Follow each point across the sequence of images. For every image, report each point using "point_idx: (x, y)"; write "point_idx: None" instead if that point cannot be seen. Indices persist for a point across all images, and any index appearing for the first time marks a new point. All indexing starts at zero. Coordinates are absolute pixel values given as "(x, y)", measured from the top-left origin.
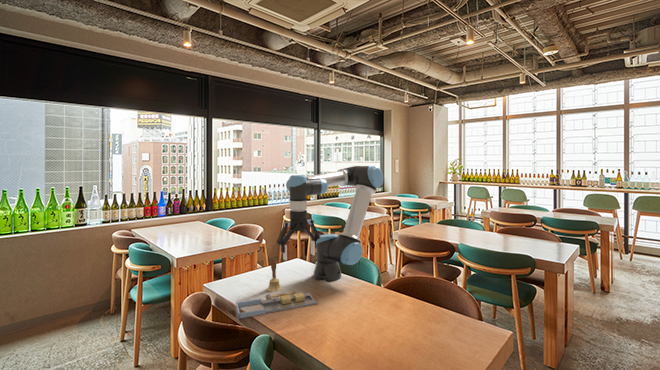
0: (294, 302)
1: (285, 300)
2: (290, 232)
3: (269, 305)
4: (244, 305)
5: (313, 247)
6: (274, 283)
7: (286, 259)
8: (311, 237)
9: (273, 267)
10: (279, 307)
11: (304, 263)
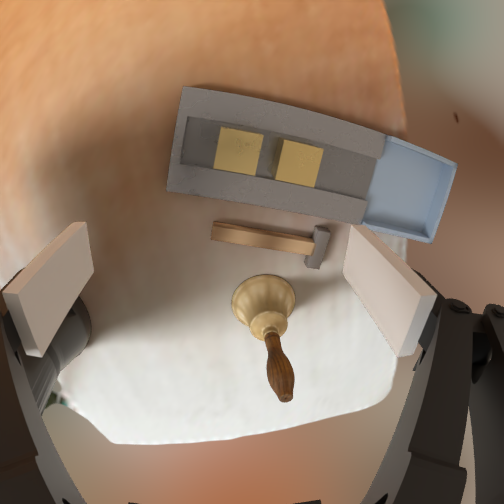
0: None
1: (308, 145)
2: (459, 453)
3: (348, 183)
4: (407, 229)
5: (51, 255)
6: (275, 308)
7: (359, 227)
8: (13, 356)
9: (285, 361)
10: (336, 132)
11: (96, 419)
